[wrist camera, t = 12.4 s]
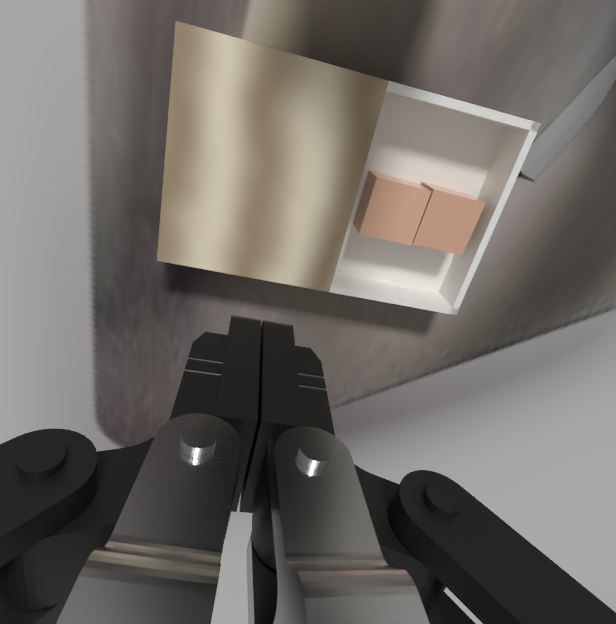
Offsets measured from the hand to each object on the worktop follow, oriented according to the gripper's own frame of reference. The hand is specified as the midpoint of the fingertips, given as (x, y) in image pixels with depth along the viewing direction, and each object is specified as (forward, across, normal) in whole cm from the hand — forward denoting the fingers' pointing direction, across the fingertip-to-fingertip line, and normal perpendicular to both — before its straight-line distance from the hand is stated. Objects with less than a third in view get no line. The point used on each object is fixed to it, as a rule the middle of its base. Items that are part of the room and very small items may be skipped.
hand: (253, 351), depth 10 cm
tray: (+27, -13, 0) cm, 30 cm away
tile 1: (+26, -10, 0) cm, 28 cm away
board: (+27, 0, 0) cm, 27 cm away
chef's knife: (+28, -23, -7) cm, 36 cm away
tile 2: (+23, -15, 0) cm, 28 cm away
